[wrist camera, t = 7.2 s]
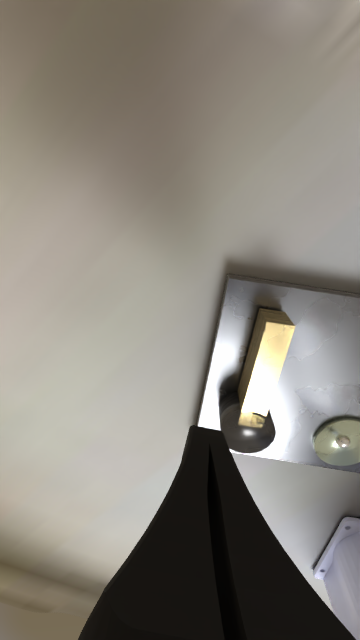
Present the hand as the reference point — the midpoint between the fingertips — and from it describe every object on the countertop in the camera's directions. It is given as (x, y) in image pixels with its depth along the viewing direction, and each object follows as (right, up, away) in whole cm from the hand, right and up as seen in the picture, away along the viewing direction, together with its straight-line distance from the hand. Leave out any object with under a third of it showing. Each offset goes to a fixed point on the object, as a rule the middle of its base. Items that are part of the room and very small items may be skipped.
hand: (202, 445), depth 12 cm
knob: (+4, +1, +8) cm, 9 cm away
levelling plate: (+13, 0, +9) cm, 16 cm away
